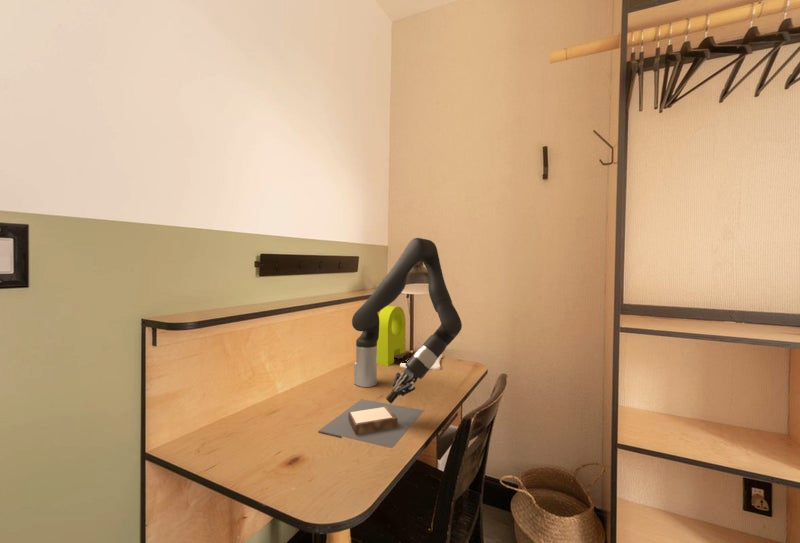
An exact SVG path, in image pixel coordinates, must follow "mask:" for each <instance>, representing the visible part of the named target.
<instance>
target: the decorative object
mask: <svg viewBox="0 0 800 543" xmlns="http://www.w3.org/2000/svg"><path fill="white" fill-rule="evenodd" d="M378 315H379V338H378V341H377V366H378V365H380V366H386V367H389V366H391V365H392V364H394V363H395V359H394V356H395V355H397V354H401V353H404V352H405V353H406V322H407V321H406V314H405V311H404V309H403V308H402V307H401V306H395V305H388V306H386V307H385V308H383V309H382V310H380V311H379V313H378Z"/></svg>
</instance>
